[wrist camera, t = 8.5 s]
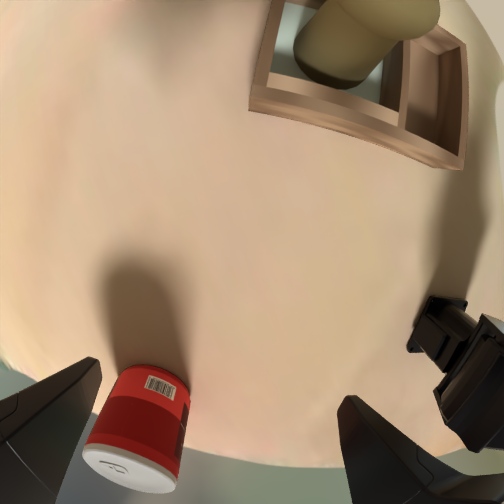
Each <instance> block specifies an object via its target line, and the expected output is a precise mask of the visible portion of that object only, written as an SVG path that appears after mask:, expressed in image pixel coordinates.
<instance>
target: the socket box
mask: <svg viewBox="0 0 504 504" xmlns="http://www.w3.org/2000/svg"><path fill="white" fill-rule="evenodd" d="M326 1H327V0H272V4H271V8H270V12H269V16H268V20H267V24H266V28H265V32H264V36H263V40H262V45H261V49H260V53H259V58H258V62H257V66H256V71H255V75H254V80H253V84H252V89H251V93H250V100H249V111H253V112H258V113H263V114H268V115H273V116H278V117H283V118H287V119H291V120H296V121H300V122H304V123H308V124H312V125H315V126H319V127H323V128H326V129H330V130H333V131H337V132H340V133H343V134H346V135H350V136H353V137H356V138H359V139H362V140H365V141H368V142H371V143H373V144H376V145H379V146H382V147H384V148H387V149H390V150H392V151H395V152H397V153H400V154H402V155H405V156H407V157H410V158H412V159H414V160H417V161H419V162H421V163H424V164H426V165H428V166H430V167H432V168H441V169H453V170H463V168H464V161H465V153H466V143H467V131H468V111H469V82H468V63H467V51H466V44H465V43H463V42H462V41H461V40H459V39H458V38H456V37H455V36H454V35H452V34H451V33H449V32H448V31H446V30H445V29H443V28H442V27H440V26H439V25H436V26H435V27H434V29H433V30H431V31H430V32H428V33H427V34H425V35H424V36H422V37H420V38H417V39H411V40H402V41H398V43H397V44H396V45H395V46H394V47H393V48H392V49H391V51H390V52H389V53H388V54H387V55H386V56H385V57H384V58H383V60H382V61H381V62H380V63H379V64H378V65H377V67H376V68H375V69H374V70H373V71H372V72H371V73H370V75H369V76H368V77H367V78H366V79H365V80H364V81H363V82H362V83H361V84H359V85H358V86H357V87H354V88H350V89H347V90H337V89H334V88H331V87H328V86H324V85H321V84H318V83H316V82H315V81H313V80H311V79H310V78H309V77H308V76H307V75H306V74H305V73H304V72H303V71H301V69H300V68H299V66H298V64H297V62H296V61H295V58H294V53H293V44H294V39H295V38H296V36H297V35H298V33H299V32H300V31H301V29H302V28H303V27H304V26H305V25H306V24H307V22H308V21H309V20H310V19H311V18H312V17H313V15H314V14H315V13H316V12H317V11H318V10H319V9H320V8H321V6H322V5H323V4H324V3H325V2H326Z"/></svg>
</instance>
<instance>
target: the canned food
mask: <svg viewBox="0 0 504 504" xmlns="http://www.w3.org/2000/svg"><path fill="white" fill-rule="evenodd" d="M190 402H191V401H190V397H189V392H188V390H187V388H186V386H185V385H184V383H183V382H182V381H181V380H180V379H178V378H177V377H176V376H174V375H173V374H171V373H170V372H168V371H166V370H163V369H161V368H158V367H154V366H150V365H135V366H131V367H129V368H127V369H126V370H125V371H123V372H122V373H121V374H120V375H119V377H118V378H117V380H116V382H115V384H114V386H113V388H112V390H111V392H110V394H109V396H108V398H107V400H106V402H105V404H104V406H103V408H102V410H101V412H100V414H99V416H98V418H97V420H96V422H95V424H94V427H93V428H92V431H91V433H90V435H89V437H88V440H87V442H86V444H85V447H84V451H83V453H82V455H83V458H84V460H85V461H86V462H87V464H88V465H89V466H90V467H92V468H93V469H94V470H95V471H96V472H98V473H99V474H101V475H102V476H104V477H105V478H107V479H109V480H111V481H113V482H115V483H117V484H120V485H122V486H125V487H128V488H131V489H134V490H138V491H142V492H148V493H167V492H171V491H173V490H174V489H175V486H176V483H177V478H178V474H179V468H180V461H181V455H182V449H183V443H184V437H185V432H186V426H187V420H188V415H189V409H190Z"/></svg>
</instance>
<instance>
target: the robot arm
mask: <svg viewBox="0 0 504 504" xmlns="http://www.w3.org/2000/svg"><path fill="white" fill-rule="evenodd" d="M432 300H433V301H432ZM467 305H468V302H467V301H466V300H465V299H457V298H450V297H442V296H435V295H432V296H430V297H429V299H428V301H427V303H426V306H425V308H424V311H423V313H422V315H421V318H420V320H419V322H418V325H417V327H416V329H415V331H414V333H413V335H412V338H411V340H410V342H409V344H408V346H407V351H408V352H409V353H423V352H425V353H426V355H427V356H428V357H429V358H430V359H431V360H432V361H433V362H434V363H435V364H436V365H437V367H438V368H439V369H440V370H441V371H442V373H445V377H444V378H443V379H442V381H441V382H440V384H439V385H438V386H437V387H436V388H435V389H434V390H433V393H434V396H435V398H436V401H437V404H438V407H439V410H440V413H441V416H442V418H443V421H444V424H445V425H446V426H448V427H449V428H450V429H451V430H452V431H454V432H455V433H456V434H457V435H458V436H459V437H460V438H461V440H462V441H463V443H464V444H465V446H466V448H467V449H468V450H469V451H472V452H475V453H479V452H480V451H481V450H482V449H483V448H488V449H496V450H504V322H503V321H501V320H499V319H496V318H494V317H491V316H489V315H486V314H483V313H482V314H481V316H480V318H479V319H480V320H479V322H476V321H475V320H474V319H473V318H472V317H470V316H469V315H468V314H467V313H465V310H466V307H467ZM101 381H102V372H101V367H100V362H99V360H98V359H95V358H92V357H86V358H84V359H82V360H81V361H79V362H77V363H75V364H73V365H71V366H69V367H67V368H65V369H63V370H61V371H59V372H57V373H55V374H53V375H51V376H49V377H47V378H45V379H43V380H41V381H39V382H37V383H36V384H34V385H31V386H29V387H27V388H26V389H23V390H22V391H19V393H15V394H14V395H11V396H9V397H7V398H5V399H3V400H1V401H0V504H55V502H56V499H57V495H58V493H59V490H60V487H61V484H62V481H63V479H64V476H65V474H66V471H67V468H68V466H69V463H70V461H71V458H72V456H73V453H74V451H75V449H76V446H77V444H78V442H79V439H80V437H81V435H82V432H83V430H84V427H85V426H86V423H87V421H88V419H89V417H90V414H91V412H92V409H93V405H94V402H95V399H96V396H97V393H98V390H99V387H100V384H101ZM337 418H338V427H339V437H340V446H341V451H342V456H343V460H344V465H345V469H346V474H347V479H348V484H349V488H350V493H351V498H352V503H353V504H504V473H501V474H492V475H480V476H469V475H465V474H462V473H460V472H458V471H457V470H455V469H453V468H451V467H450V466H448V465H446V464H445V463H443V462H441V461H440V460H438V459H436V458H435V457H434V456H432V455H431V454H429V453H428V452H426V451H425V450H424V449H422V448H421V447H420V446H419V445H417V444H416V443H415V442H413V441H412V440H411V439H410V438H408V437H407V436H406V435H404V434H403V433H402V432H401V431H399V430H398V429H397V428H396V427H394V426H393V425H392V424H391V423H390V422H388V421H387V420H386V419H385V418H383V417H382V416H381V415H380V414H379V413H377V412H376V411H375V410H374V409H372V408H371V407H370V406H369V405H368V404H366V403H365V402H364V401H363V400H362V399H360V398H359V397H358V396H356V395H347V396H346V397H345V398H344V399H343V401H342V403H341V405H340V406H339V408H338V411H337Z"/></svg>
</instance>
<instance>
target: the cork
mask: <svg viewBox="0 0 504 504" xmlns="http://www.w3.org/2000/svg"><path fill="white" fill-rule="evenodd" d="M439 17H440V4H439V0H327V1H326V2H325V3H324V4H323V5H322V6H321V8H320V9H319V10H318V11H317V12H316V13H315V14H314V15H313V17H312V18H311V19H310V20H309V21H308V22H307V24H306V25H305V26H304V27H303V28H302V29H301V31H300V32H299V33H298V35H297V36H296V38H295V39H294V44H293V53H294V58H295V61H296V62H297V64H298V66H299V68H300V69H301V71H303V72H304V73H305V74H306V75H307V76H308V77H309V78H310V79H311V80H313V81H315V82H316V83H318V84H321V85H324V86H328V87H331V88H334V89H337V90H347V89H350V88H354V87H357V86H358V85H359V84H361V83H362V82H363V81H364V80H365V79H366V78H367V77H368V76H369V75H370V73H371V72H372V71H373V70H374V69H375V68H376V67H377V65H378V64H379V63H380V62H381V61H382V60H383V58H384V57H385V56H386V55H387V54H388V53H389V52H390V51H391V49H392V48H393V47H394V46H395V45H396V44H397V43H398V41H402V40H411V39H417V38H420V37H422V36H424V35H425V34H427V33H428V32H430V31H431V30H433V29H434V27H435V26H436V25H437V22H438V20H439Z"/></svg>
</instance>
